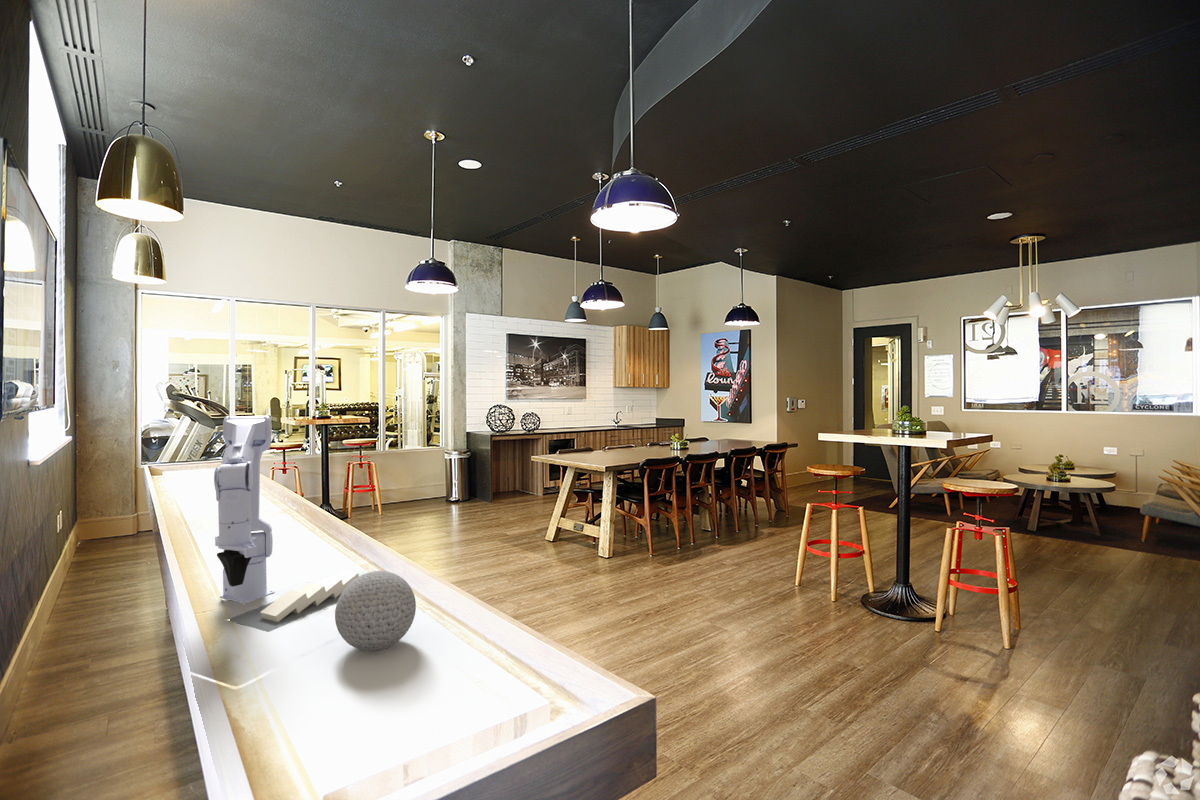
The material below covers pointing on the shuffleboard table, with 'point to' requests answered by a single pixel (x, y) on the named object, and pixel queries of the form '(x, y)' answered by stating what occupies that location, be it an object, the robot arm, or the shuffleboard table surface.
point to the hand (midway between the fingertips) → (236, 584)
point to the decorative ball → (375, 610)
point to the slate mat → (256, 620)
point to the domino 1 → (283, 605)
